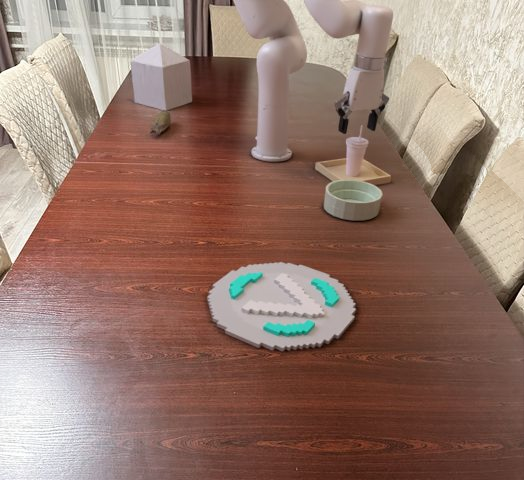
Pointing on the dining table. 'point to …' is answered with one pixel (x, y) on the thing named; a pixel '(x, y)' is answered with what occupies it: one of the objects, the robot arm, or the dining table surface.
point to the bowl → (352, 199)
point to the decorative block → (161, 78)
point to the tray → (366, 174)
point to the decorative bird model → (161, 122)
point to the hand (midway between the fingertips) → (356, 130)
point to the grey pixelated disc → (281, 306)
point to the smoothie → (355, 153)
